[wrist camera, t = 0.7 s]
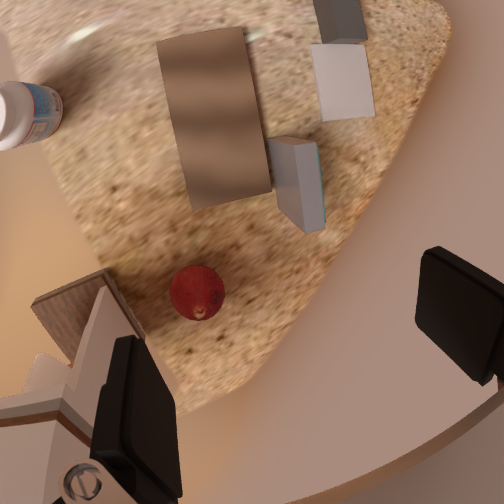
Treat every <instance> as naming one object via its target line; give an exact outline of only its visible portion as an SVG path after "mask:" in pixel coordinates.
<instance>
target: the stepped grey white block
mask: <svg viewBox="0 0 504 504" xmlns="http://www.w3.org/2000/svg"><path fill="white" fill-rule="evenodd" d="M313 3H314V7H315V11H316V16H317V20H318V25H319V29H320V34H321V39H322V44H310V45H309V50H310V55H311V61H312V66H313V71H314V77H315V83H316V89H317V95H318V101H319V108H320V114H321V121H332V120H341V119H351V118H361V117H374V116H375V110H374V102H373V95H372V88H371V81H370V75H369V68H368V63H367V57H366V52H365V46H364V45H355V43H358V42H361V41H364V40H368V38H367V33H366V29H365V24H364V20H363V15H362V11H361V7H360V3H359V0H313Z"/></svg>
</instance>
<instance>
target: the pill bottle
mask: <svg viewBox="0 0 504 504" xmlns="http://www.w3.org/2000/svg"><path fill="white" fill-rule="evenodd" d="M62 113H63V105H62V100H61V98H60V96H59V94H58V93H57V92H56V91H55V90H54V89H52V88H50V87H47V86H42V85H36V84H30V83H24V82H17V81H8V82H4V83H1V84H0V151H4V150H9V149H12V148H16V147H19V146H23V145H26V144H30V143H34V142H37V141H41V140H44V139H46V138H47V137H49V136H50V135H51V134H53V133H54V131H55V130H56V129H57V127H58V125H59V123H60V121H61V118H62Z"/></svg>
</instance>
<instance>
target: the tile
mask: <svg viewBox="0 0 504 504" xmlns="http://www.w3.org/2000/svg"><path fill="white" fill-rule="evenodd" d="M267 140H268V146H269V152H270V158H271V164H272V170H273V176H274V182H275V188H276V194H277V201H278V207H279V210H281V211H282V212H283V213H284V214H285V215H286V216H287V217H288V218H289V219H290V220H291V221H292V222H293V223H294V224H295V225H296V226H298V227H299V228H300V229H301V230H302V231H303V232H304V233H305V234H307V233H311V232H315V231H319V230H323V229H325V223H326V216H325V205H324V195H323V186H322V177H321V168H320V160H319V152H318V146H317V145H316V142H314V141H309V140H304V139H299V138H294V137H289V136H281V137H275V138H269V139H267Z"/></svg>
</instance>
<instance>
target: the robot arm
mask: <svg viewBox="0 0 504 504" xmlns="http://www.w3.org/2000/svg"><path fill="white" fill-rule="evenodd" d="M415 322H416V324H417V326H418V328H419V329H420V330H421V331H423V332H424V333H425V334H426V335H427V336H428V337H429V338H430V339H431V340H432V341H433V342H434V343H435V344H436V345H437V346H438V347H439V348H440V349H442V350H443V351H444V352H445V353H446V354H447V355H448V356H449V357H450V358H451V359H452V360H453V361H454V362H455V363H456V364H457V365H458V366H459V367H460V368H461V369H462V370H463V371H464V372H465V373H466V374H467V375H468V376H469V377H470V378H471V379H472V380H473V381H477V382H478V383H479V384H480V385H481V386H484V385H485V384H487V383H488V382H489V381H490V380H491V379H492V378H493V376H494V374H495V375H496V376H497V383H498V392H497V393H496V394H495V395H493V396H492V397H491V398H489V399H488V400H487V401H486V402H485V403H483V404H482V405H480V406H479V407H478V408H476V409H475V410H474V411H472V412H471V413H470V414H468V415H467V416H466V417H464V418H463V419H461V420H460V421H458V422H457V423H456V424H454V425H453V426H451V427H450V428H448V429H447V430H445V431H444V432H442V433H440V434H439V435H437V436H436V437H434V438H433V439H431V440H429V441H428V442H426V443H424V444H423V445H421V446H419V447H417V448H416V449H414V450H412V451H410V452H409V453H407V454H405V455H403V456H401V457H399V458H397V459H396V460H393V461H392V462H390V463H388V464H386V465H384V466H382V467H380V468H377V469H375V470H373V471H371V472H369V473H367V474H365V475H362V476H360V477H358V478H356V479H353V480H351V481H348V482H346V483H344V484H341V485H339V486H336V487H334V488H331V489H328V490H326V491H323V492H320V493H317V494H315V495H311V496H309V497H306V498H303V499H299V500H296V501H293V502H290V503H286V504H504V284H503V283H501V282H500V281H498V280H497V279H495V278H493V277H492V276H490V275H489V274H487V273H485V272H484V271H482V270H480V269H479V268H477V267H475V266H474V265H472V264H470V263H469V262H467V261H465V260H463V259H462V258H460V257H458V256H457V255H455V254H453V253H451V252H450V251H448V250H446V249H444V248H442V247H440V246H436V247H433V248H431V249H428V250H426V251H425V252H424V254H423V256H422V258H421V266H420V277H419V288H418V297H417V305H416V314H415ZM58 485H59V492H60V494H61V496H60V497H59V498H58V499H57V500H55V501H54V502H53V503H52V504H178V498H181V497H182V495H183V493H182V483H181V474H180V463H179V452H178V439H177V426H176V409H175V402H174V399H173V397H172V395H171V393H170V391H169V389H168V387H167V386H166V384H165V382H164V380H163V378H162V376H161V374H160V372H159V370H158V368H157V366H156V364H155V362H154V360H153V358H152V356H151V354H150V352H149V350H148V348H147V346H146V344H145V342H144V340H143V339H142V338H137V337H136V336H135V335H134V334H133V335H128V336H123V337H119V338H116V340H115V343H114V347H113V352H112V356H111V361H110V365H109V370H108V375H107V380H106V384H104V385H103V386H102V387H101V390H100V394H99V399H98V405H97V410H96V416H95V421H94V428H93V434H92V440H91V447H90V455H89V459H86V458H82V459H78V460H75V461H73V462H71V463H70V464H68V465H67V466H66V467H65V468H64V470H63V471H62V473H61V475H60V478H59V482H58Z"/></svg>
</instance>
